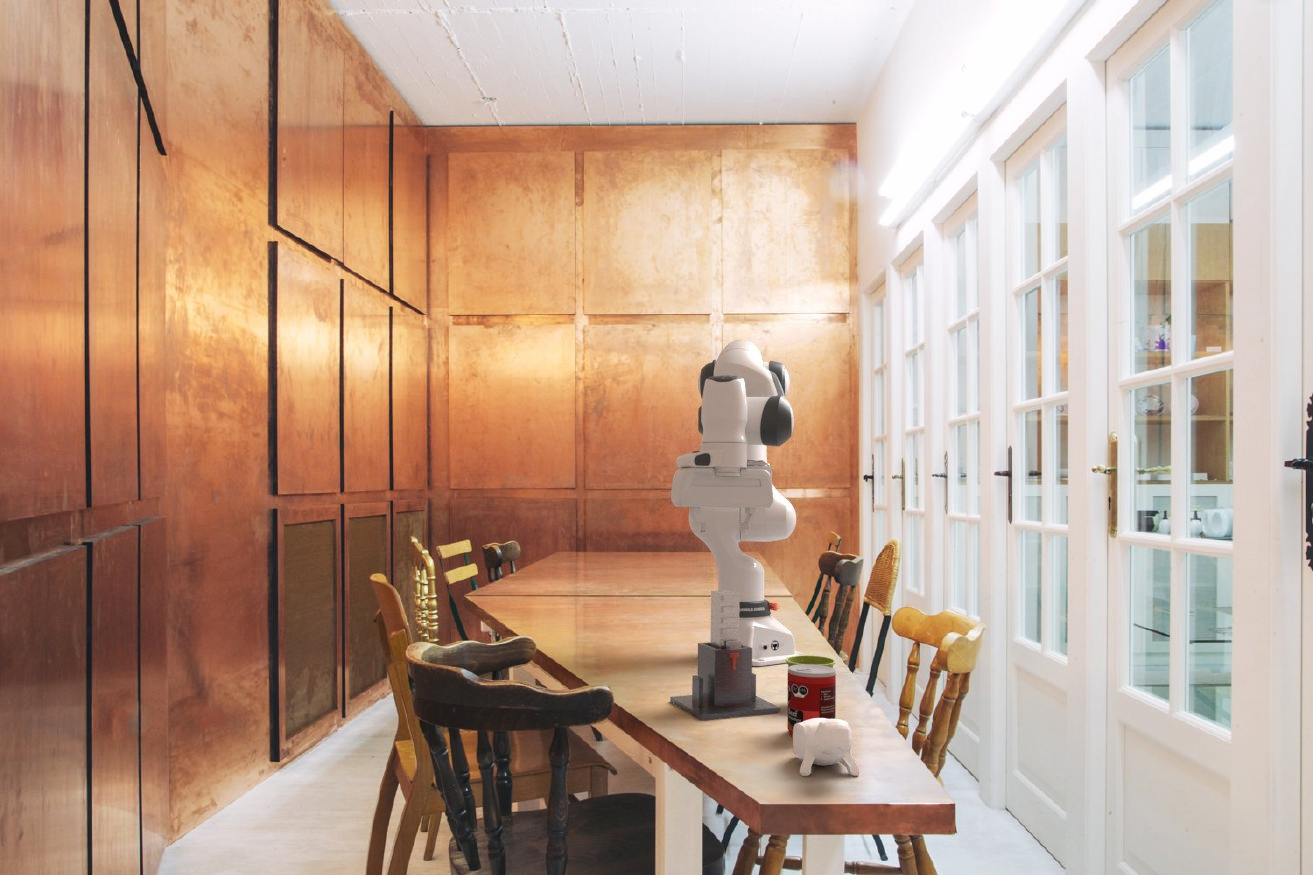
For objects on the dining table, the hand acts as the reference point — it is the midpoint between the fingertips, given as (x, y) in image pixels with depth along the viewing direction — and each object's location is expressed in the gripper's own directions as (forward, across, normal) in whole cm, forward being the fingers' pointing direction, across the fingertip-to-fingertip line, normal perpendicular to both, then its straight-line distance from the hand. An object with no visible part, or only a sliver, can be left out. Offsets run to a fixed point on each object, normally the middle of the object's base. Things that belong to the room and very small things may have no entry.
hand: (722, 531), depth 169 cm
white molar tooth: (+34, +1, +38) cm, 51 cm away
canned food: (+33, -7, +21) cm, 40 cm away
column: (+31, -1, 0) cm, 31 cm away
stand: (+33, -1, 0) cm, 33 cm away
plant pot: (+33, -17, +4) cm, 37 cm away
